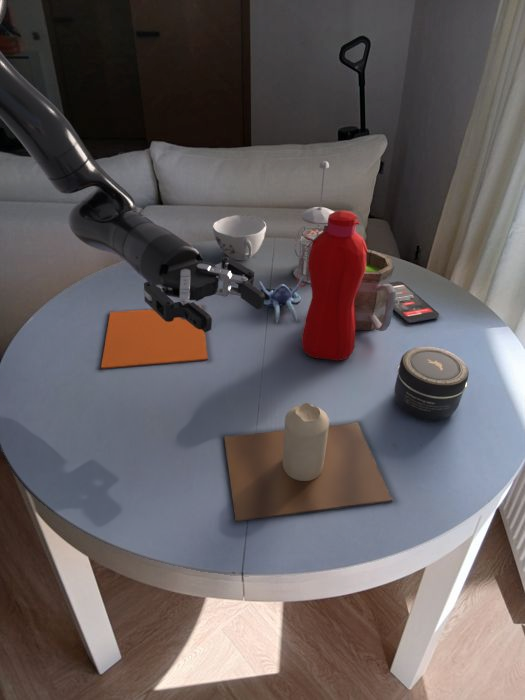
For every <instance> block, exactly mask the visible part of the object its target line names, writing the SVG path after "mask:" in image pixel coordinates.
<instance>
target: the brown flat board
mask: <svg viewBox="0 0 525 700" xmlns="http://www.w3.org/2000/svg"><path fill="white" fill-rule="evenodd" d="M223 441H224V447H225V454H226V455H225V456H226V461H227V469H228V477H229V484H230V491H231V498H232V499H231V500H232V506H233V513H234V519H235V522H244V521H245V522H246V521H251V520H259V519H266V518H274V517H282V516H283V517H284V516H290V515H297V514H306V513H313V512H321V511H327V510H336V509H344V508H351V507H358V506H367V505H373V504H381V503H389V502H393V498H392V496H391V493H390V491H389V489H388V486H387V484H386V482H385V480H384V478H383V475H382V474H381V471H380V469H379V467H378V465H377V462H376V460H375V458H374V456H373V453H372V451H371V449H370V447H369V444H368V443H367V441H366V438H365V436H364V434H363V431H362V429H361V427H360V425H359V422H352V423H351V422H350V423H341V424H340V423H339V424H332V425H329V428H328V435H327V443H326V450H325V457H324V464H323V469H322V472H321V474H320V475H319V476H318V477H317V478H315V479H313V480H310V481H299V480H295V479H293V478H291V477H290V476H289V475H287V474H286V472H285V471H284V468H283V445H284V430H275V431H274V430H273V431H266V432H257V433H247V434H238V435H229V436H224V437H223Z"/></svg>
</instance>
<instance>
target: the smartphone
mask: <svg viewBox="0 0 525 700" xmlns="http://www.w3.org/2000/svg"><path fill="white" fill-rule="evenodd" d="M390 285H392V286H393V287H394V289H395V291H396V302H395V305H394V309H393V311H395V312H396V313H397V314H398V315H400V317H402V318H403V320H404V321H405V322H407V323H410V324H412V323H416V322H423V321H428V320H434V319H438V318H440V317H439V316H440V313H439V312H438V311H437V310H435V309H434V308H433V307H432V306H431V305H430V304H429V303H427V302H426V301H425V300H424V299H422V297H420V296H419V295H418V294H417V293H416V292H415V291H413V290H412V289H411V288H410V287H409V286H408V285H406V284H405V283H404V282H403V281H392V282H391V281H390ZM387 303H388V299H387V302H386V304H387Z"/></svg>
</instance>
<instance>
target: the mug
mask: <svg viewBox="0 0 525 700" xmlns="http://www.w3.org/2000/svg"><path fill="white" fill-rule="evenodd" d="M394 269H395V266H394V263H393V262H392V259H391V257H390V256H388V255H385V254H383V253H380V252H378V251H375V250H372V249H367V255H366V270H365V273H364V275H363V278H362V280H361V283H360V286H359V289H358V292H357V295H356V298H355V301H354V306H355V317H356V328H355V331H372V330H373V329H375V330H376V331H380V332H385V331H387V329H388V328H389V327H390V326H391V325H390V324H391V321H392V318H393V311H394V305H395V302H396V291H395V289H394V287H393V286H392V285H390V283H391V278H392V275H393V272H394ZM387 299H388V303H387Z"/></svg>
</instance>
